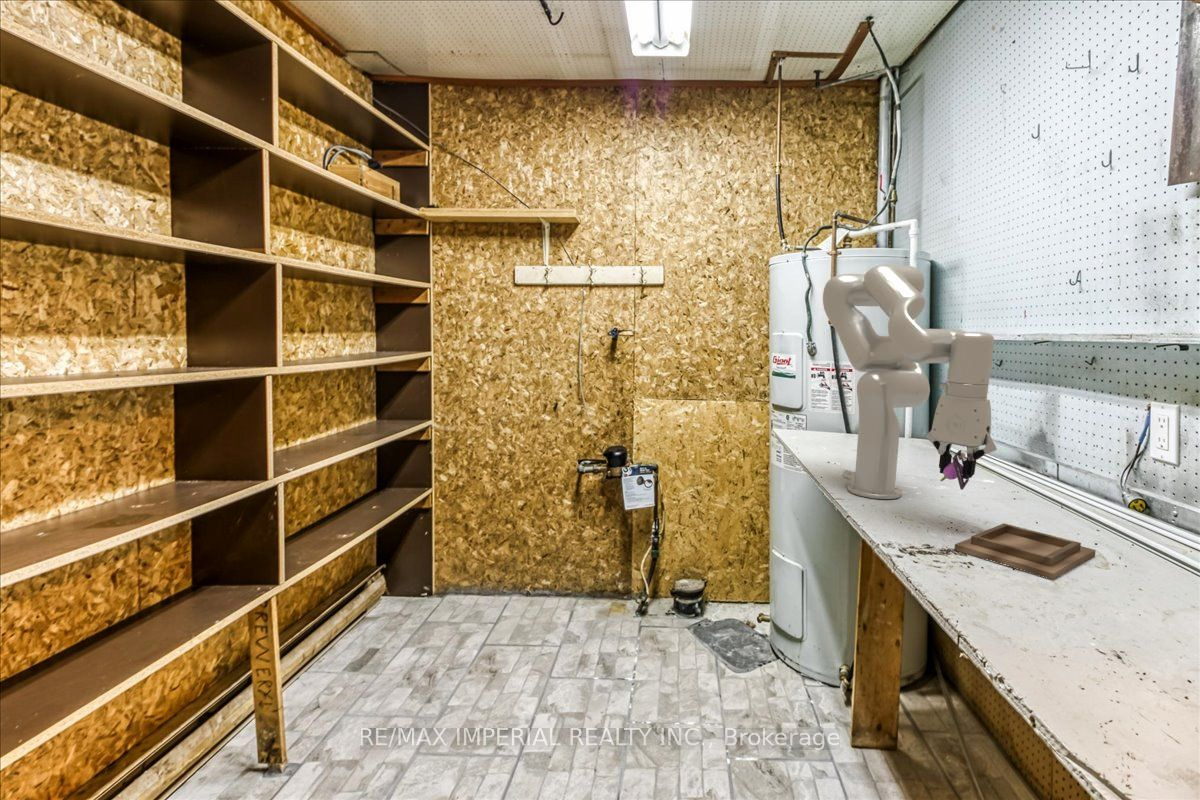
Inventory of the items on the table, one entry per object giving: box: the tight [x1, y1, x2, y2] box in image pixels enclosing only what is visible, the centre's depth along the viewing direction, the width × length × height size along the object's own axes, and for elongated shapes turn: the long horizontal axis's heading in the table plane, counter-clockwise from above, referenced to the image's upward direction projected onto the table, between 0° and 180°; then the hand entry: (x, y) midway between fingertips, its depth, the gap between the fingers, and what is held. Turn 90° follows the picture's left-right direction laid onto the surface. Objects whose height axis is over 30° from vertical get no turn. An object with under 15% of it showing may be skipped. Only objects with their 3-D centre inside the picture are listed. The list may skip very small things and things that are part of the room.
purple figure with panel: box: [940, 449, 970, 491], centre depth 128 cm, size 7×5×9 cm
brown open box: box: [954, 523, 1096, 580], centre depth 114 cm, size 16×20×3 cm
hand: (955, 474), depth 129 cm, fingers closed on purple figure with panel, 3 cm apart
